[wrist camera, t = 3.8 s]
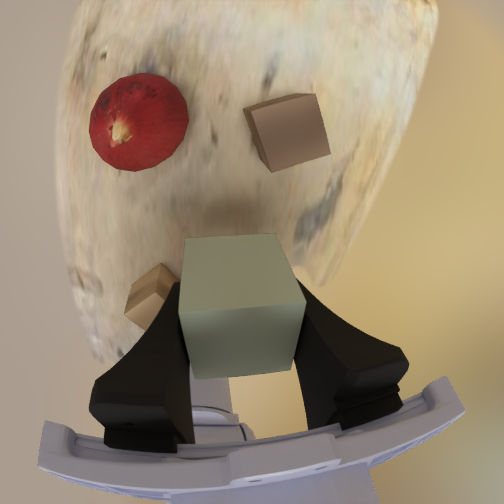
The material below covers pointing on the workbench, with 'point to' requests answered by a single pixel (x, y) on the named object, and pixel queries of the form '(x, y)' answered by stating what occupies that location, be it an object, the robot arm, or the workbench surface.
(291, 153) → the walnut block
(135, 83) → the onion
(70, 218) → the workbench surface
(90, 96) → the workbench surface
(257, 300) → the sage block
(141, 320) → the oak block
